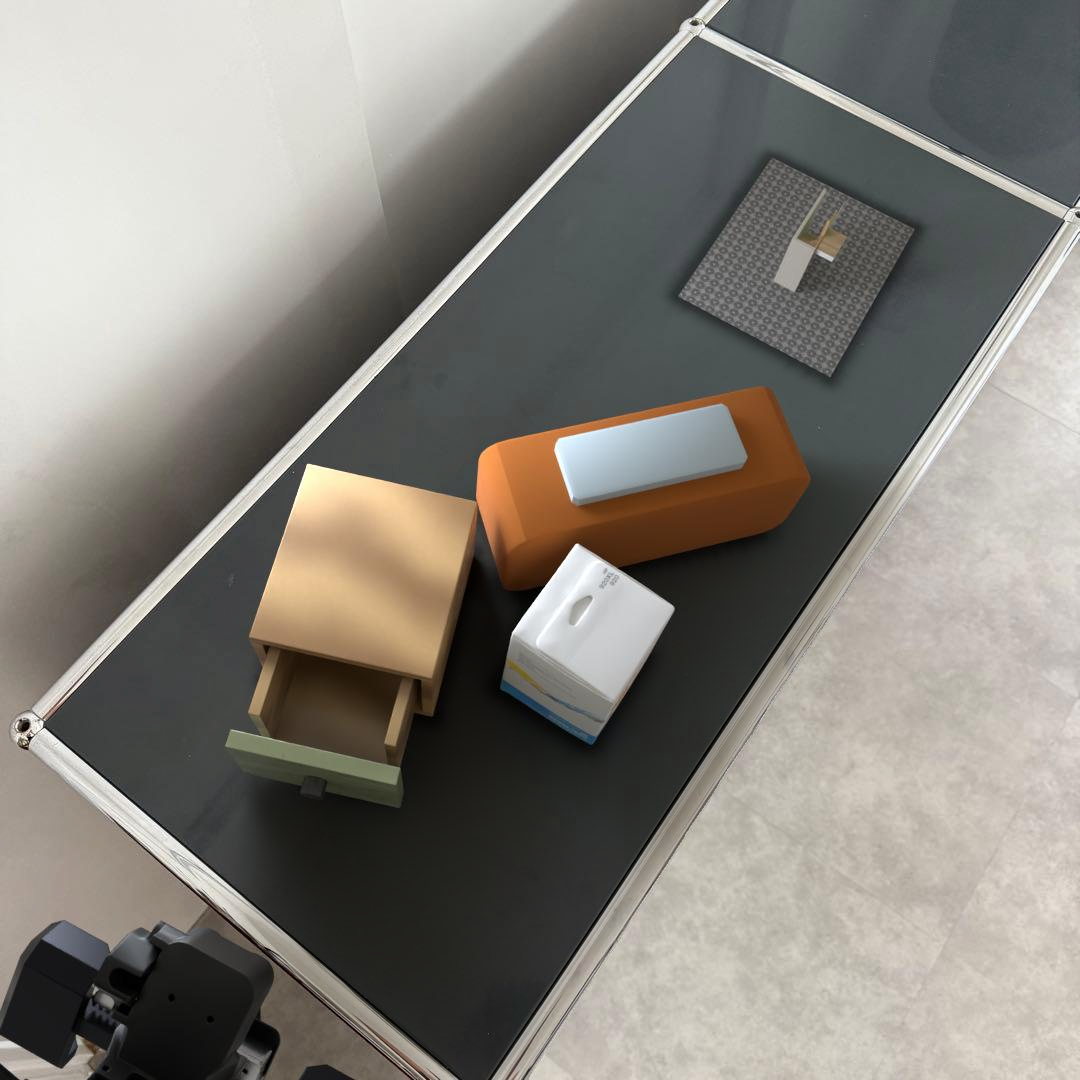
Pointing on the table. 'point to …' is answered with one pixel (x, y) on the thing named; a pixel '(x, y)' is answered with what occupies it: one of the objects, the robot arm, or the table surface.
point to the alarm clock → (639, 485)
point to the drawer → (328, 727)
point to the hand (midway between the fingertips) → (259, 969)
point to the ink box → (583, 643)
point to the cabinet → (370, 577)
